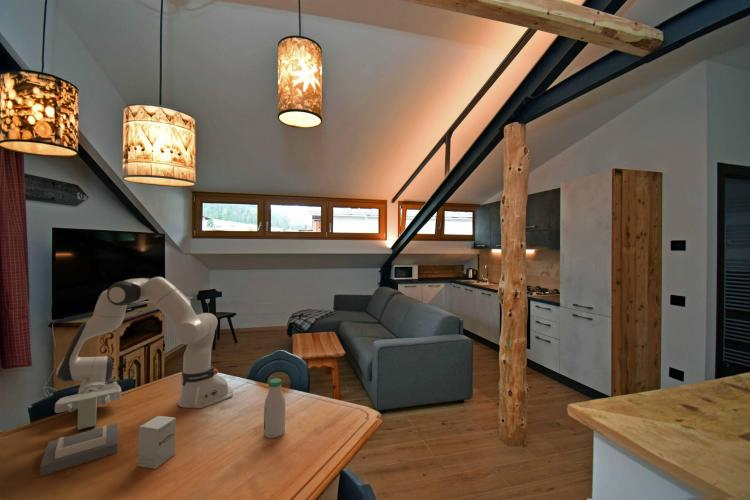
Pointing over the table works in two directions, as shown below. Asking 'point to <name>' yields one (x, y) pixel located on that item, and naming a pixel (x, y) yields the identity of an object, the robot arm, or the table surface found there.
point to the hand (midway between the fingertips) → (88, 406)
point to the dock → (79, 449)
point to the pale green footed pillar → (87, 410)
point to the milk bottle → (274, 410)
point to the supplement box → (156, 441)
